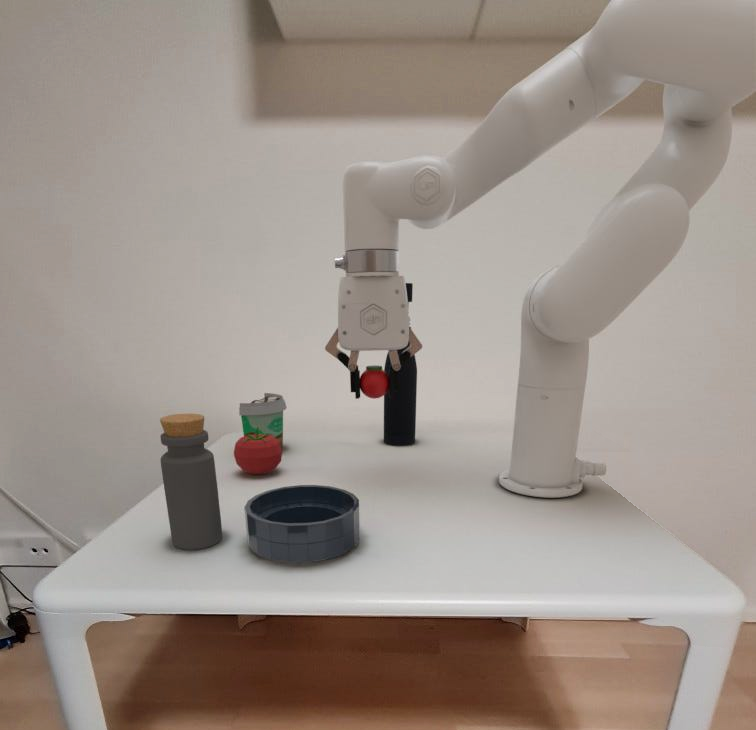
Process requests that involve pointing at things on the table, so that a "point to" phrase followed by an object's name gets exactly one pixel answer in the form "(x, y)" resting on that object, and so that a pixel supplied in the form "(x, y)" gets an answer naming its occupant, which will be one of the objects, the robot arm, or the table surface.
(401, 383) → the black water bottle
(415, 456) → the table surface
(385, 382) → the cherry tomato
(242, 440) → the tomato
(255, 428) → the food container
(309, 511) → the bowl
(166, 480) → the bottle
